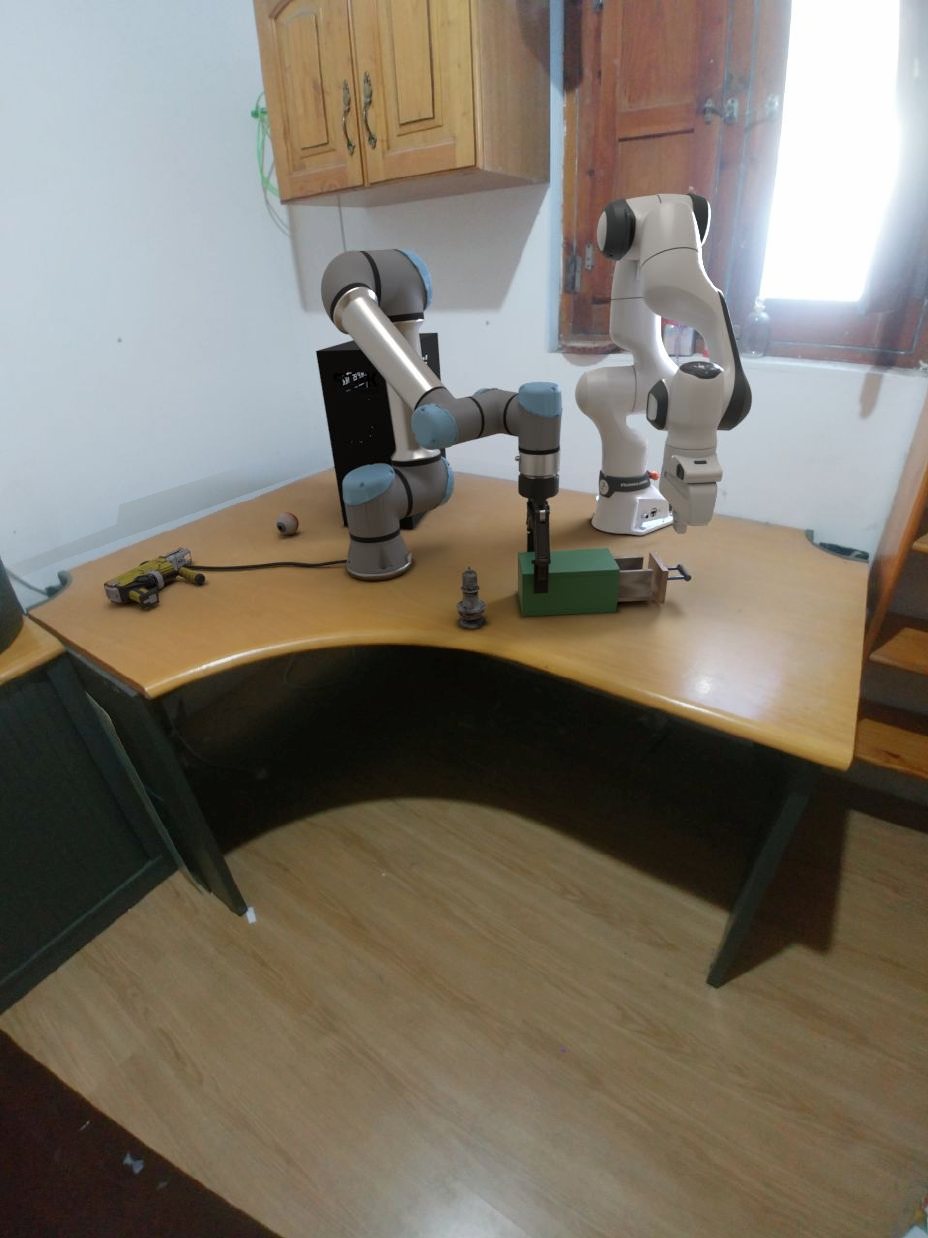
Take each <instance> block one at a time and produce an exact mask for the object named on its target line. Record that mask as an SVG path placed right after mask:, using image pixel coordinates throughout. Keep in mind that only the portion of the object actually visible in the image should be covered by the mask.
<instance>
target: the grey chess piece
mask: <svg viewBox="0 0 928 1238" xmlns="http://www.w3.org/2000/svg"><path fill="white" fill-rule="evenodd" d="M461 583H462V586H461V587H460V590H461V592H462V600H459V602H457V603H456V604H455V608H456V610H457V612H458V614H459V616H460V618H459V619H458V624H459V626H460V627H462V628H464V629H478V628H480V627H482V626H484V625H485V623H486V618H485V617H484V616H483V615H484V613H485V611H486V610H485V609H486V608H487V603H486V602H485V601H484V600H482V599H480V597H479V596H480V595H479V591H480V589H481V587H480V586H479V585H478V583H479V582H478V573H477V571H475V570H473V569H472V568H471V566H469V565H468V567H467V569H466V570H464V571H463V572H462V574H461Z"/></svg>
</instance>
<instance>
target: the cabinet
mask: <svg viewBox="0 0 928 1238" xmlns="http://www.w3.org/2000/svg"><path fill="white" fill-rule="evenodd" d="M613 557H614V556H613V553H612V552H611V550H610V549H609V547H602V548H601V547H600V548H598V547H597V548H581V549H562V550H561V549H560V550H559V549H558V550H550V560H551V564H549V576H548V593H538V594H534V592H533V591H534V564H531V561H532V560H535V552H527V551H520V552H519V551H517V595H518V600H519V605H520V611H521V617H537V616H538V617H539V616H557V615H558V616H560V615H561V616H562V615H581V614H601V613H602V614H603V613H617V609H618V602H617V598H618V587H619V574H620V569H619V567H618V565H617V563H616V561H615V559H614V558H613Z"/></svg>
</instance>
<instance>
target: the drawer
mask: <svg viewBox="0 0 928 1238" xmlns="http://www.w3.org/2000/svg"><path fill="white" fill-rule="evenodd" d="M613 558H614V559H615V561H616V563H617V565H618V567H619V569H620V574H619V587H618V598H617V603H618V602H638V601H639V602H640V601H650V596H651V594H652V596H653V598H654V599H655V601H656V602H657V604H658V605H664V604H665V603H666V595H667V589H668V588H667V587H668V581H678V580H679V581H681V580H683V581H684V582H690V581H691V580H692V576H691V574H690V572H688V570H687V569H686V568H685V566H684V565H683V564H682V563H679V564H677V565H676V566H666V564H665V563H664V561H663V560H662V559H661V557H660V556H659V555H658V553H657V552H656V551H649V552H648V562H647V569H646V568H645V569H643V568H644V561H645V560H644V559H645V557H644V555H628V556H627V555H625V556H613ZM670 571H678V574H680V575H669V573H670Z"/></svg>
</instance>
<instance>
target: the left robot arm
mask: <svg viewBox="0 0 928 1238" xmlns="http://www.w3.org/2000/svg"><path fill="white" fill-rule="evenodd" d="M433 290H434V289H433V281H432V276H431V274H430V270H429V268H428V266H427V264H426V263H425V261H424V259H422V258H421V257H420V255H419V254H417V252H415V251H412V250H409V249H399V248H391V249H390V248H389V249H371V250H347V251H344V252H341V253H340V254H338V255H336V256H335V257H334V258H332V259H331V260H330V262H329V263H328V264H327V265H326V268H325V269H324V271H323V275H322V277H321V283H320V295H321V301H322V306H323V308H324V310H325V313H326V315H327V316H328V318H329V319H330V321H331V322H332V324H333V325H334V326H335V328H336V329H337V330H338V331H339V332H340V333H342V334H343V335H349V336H350V338H351V339H352V340H354V341H355V342H356V344H357V345H358V346H359V347H360V349H361V350H362V351H363V352H364V354H365V355H366V356H367V357H368V359H369V360H370V361H371V362H372V364H373V365H374V366H375V367H376V369H377V370H378V371H379V372H380V374H381V375H382V376H383V377H384V379H385V380H386V387H387V393H388V400H389V406H390V413H391V419H392V426H393V432H394V439H395V445H396V450H395V452H394V453H393V455H392V456H391V462H392V467H391V466H390V465H388V464H382V463H378V464H373V465H366V466H362V467H359V468H357V469H355V470H353V471H351V472H350V473H348V474H347V475H346V476H345V478H344V480H343V500H344V503H345V509H346V515H347V521H348V526H347V527H348V532H349V540H350V541H349V547H348V553H347V558H346V559H341V560H340V559H339V560H331V561H325V562H318V563H317V562H316V563H307V562H297V561H278V562H277V561H275V562H267V563H259V564H247V565H230V566H229V565H226V566H209V565H196V564H195V565H192V564H186V565H185V564H184V565H183V566H182V567H184V568H187V569H191V570H192V569H193V570H206V571H207V570H209V571H229V570H230V571H231V570H232V571H233V570H245V569H247V570H249V569H259V568H269V567H277V566H278V567H279V566H296V567H297V566H298V567H306V568H319V567H326V566H330V565H331V566H333V565H340V564H346V572H347V574H348V575H349V576H350V577H352V578H354V579H356V580H359V581H366V582H379V581H387V580H391V579H394V578H397V577H401V576H402V575H404V574H406V573H407V572H408V571H409V570H410V569H411V567H412V564H413V563H412V551H410V552H409V550H408V548H407V545H406V544H405V541H404V539H403V536H402V534H401V528H400V524H399V520H400V519H403V518H406V517H409V516H412V515H415V514H418V513H421V512H424V511H427V510H428V511H433V510H435V509H437V508H439V507H441V506H443V505H445V504H447V503H448V502H449V500H450V499H451V497H452V495H453V493H454V488H455V474H454V470H453V467H452V466H450V465H451V464H450V462H449V460H448V459H447V458H446V459H445V458H444V457H441V452H440V450H439V449H441V448H445V449H448V448H451V447H453V446H456V445H460V444H464V443H467V442H470V441H475V440H479V439H484V438H488V437H491V436H494V435H495V436H496V435H499V434H502V435H508V436H511V437H516V438H517V443H518V444H517V447H518V448H517V450H518V455H516V456H515V457H514V460H515V462H518V472H519V474H518V477H517V483H518V484H517V490H518V491H517V492H518V494H519V496H520V497H522V498H525V499H527V501H526V520H525V525H526V552H535V560H532V561H531V564H534V591H533V592H534V594H538V593H548V576H549V564H551V560H550V551H551V541H550V540H551V537H550V515H551V508H550V507H551V506H550V504H549V501H548V499H551V498H554V497H556V496H557V495H558V494H559V491H560V474H559V472H560V471H561V452H562V451H561V433H562V432H561V431H562V419H563V418H562V416H563V399H562V397H563V396H562V389H561V386H560V385H559V384H558V383H555V382H550V381H532V382H526V383H523V384H521V385H520V386H519V388H518V391H517V392H516V391H510V390H504V389H501V388H497V387H492V388H487V387H484V388H480V389H478V390H476V391H475V392H474V393H473V394H472V395H470V396H464V397H459V398H457V397H455V395H453V394H452V393H451V391H450V390H449V389H448V388H447V387H446V386H445V385H444V384H443V382H442V380H441V381H440V380H439V379H438V378H437V376H436V375H435V374H434V373H433V372H432V370H431V369H430V368H429V367H428V366H427V362H424V361H423V360H424V359H422V354H421V346H420V338H419V333H420V328H421V327H422V325H423V324H424V322H425V313H424V312H425V311H426V310H428V309H429V308H430V305H431V303H432V299H433ZM428 511H427V512H428ZM149 561H150V560H145V561H143V562H141V563H140V564H139V565H138V567H139V566H141V565H143V564H145V563H147V562H149ZM182 567H181V568H182Z"/></svg>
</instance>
